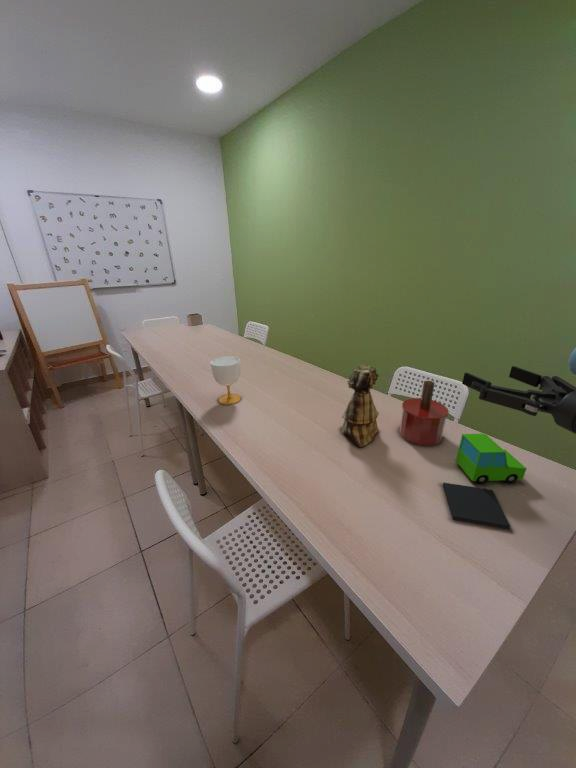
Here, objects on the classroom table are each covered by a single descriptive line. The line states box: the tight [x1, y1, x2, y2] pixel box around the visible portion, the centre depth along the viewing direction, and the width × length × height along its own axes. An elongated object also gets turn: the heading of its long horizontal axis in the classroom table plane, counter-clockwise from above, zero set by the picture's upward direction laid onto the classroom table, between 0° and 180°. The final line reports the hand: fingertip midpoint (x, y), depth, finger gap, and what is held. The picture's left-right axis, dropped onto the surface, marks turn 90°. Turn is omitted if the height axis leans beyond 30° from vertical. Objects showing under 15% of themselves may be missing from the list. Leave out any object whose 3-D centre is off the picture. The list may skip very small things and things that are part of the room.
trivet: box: [442, 482, 511, 530], centre depth 70 cm, size 11×11×1 cm
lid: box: [401, 380, 449, 420], centre depth 93 cm, size 13×13×10 cm
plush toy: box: [340, 364, 380, 448], centre depth 95 cm, size 14×14×25 cm
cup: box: [209, 356, 241, 405], centre depth 122 cm, size 12×12×17 cm
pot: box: [399, 408, 447, 447], centre depth 96 cm, size 13×13×10 cm
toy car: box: [455, 433, 527, 485], centre depth 78 cm, size 10×13×10 cm
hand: (488, 374), depth 71 cm, fingers open, 13 cm apart
